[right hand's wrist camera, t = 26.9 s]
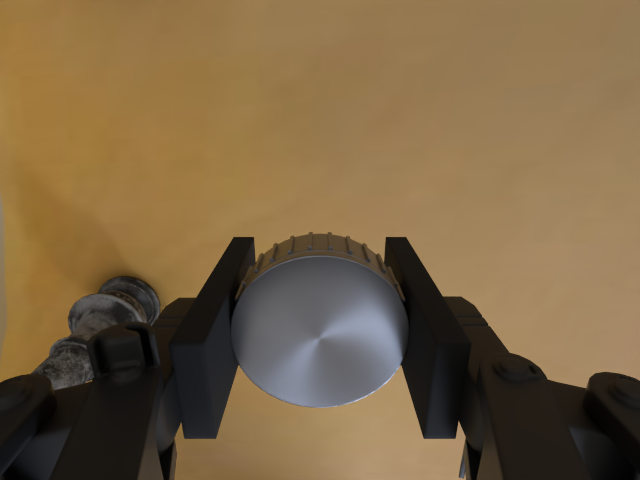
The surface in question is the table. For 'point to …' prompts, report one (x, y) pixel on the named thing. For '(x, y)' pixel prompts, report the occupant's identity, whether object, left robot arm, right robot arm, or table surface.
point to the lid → (319, 321)
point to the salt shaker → (97, 327)
